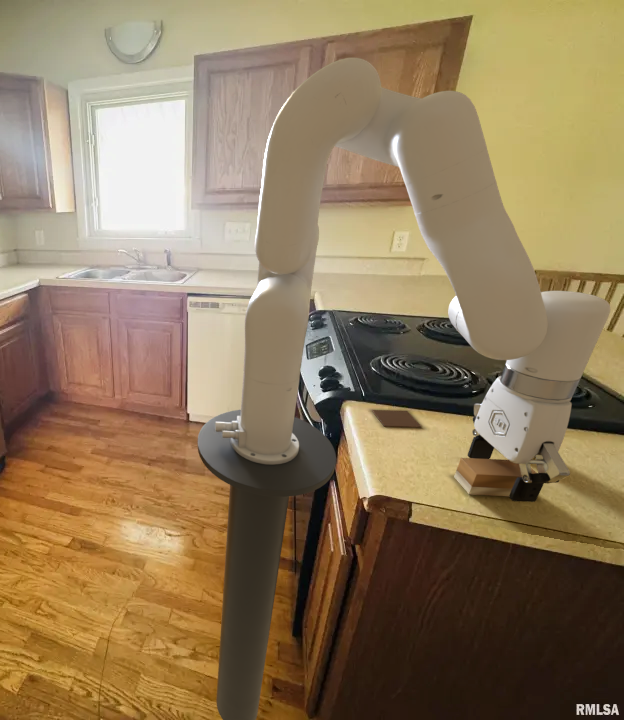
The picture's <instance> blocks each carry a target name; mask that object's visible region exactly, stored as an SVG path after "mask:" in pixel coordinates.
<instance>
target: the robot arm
mask: <svg viewBox="0 0 624 720" xmlns="http://www.w3.org/2000/svg"><path fill="white" fill-rule="evenodd" d="M477 111H478V110H477V109H476V107H475V104H474V103H473V101H472V99H470V98H469V97H468V96H467V94H465V93H462V92H460V91H456V90H441V91H437V92H434V93H431V94H428V95H426V96H424V97H422V98H421V97H417V96H412V95H409V94H405V93H402V92H398V91H395V90H391V89H388V88H386V87H383V86H382V81H381V77H380V74H379V72H378V70H377V68H375V67H374V65H373V64H372V63H371V62H369V61H368V60H366V59H363V58H361V57H345V58H342V59H338V60H335V61H333V62H331V63H329V64H326V65H325V66H323V67H321V68H320V69H318V70H317V71H316V72H314V73H313V74H312V75H310V76H309V77H308V78H306V79H305V80H304V81H303V82H302V83H301V84H300V85H298V86H297V88H295V90H293V91H292V93H291V94H290V96H289V97H287V99H286V100H285V102H284V103H283V105H282V107H281V108H280V110H279V111H278V113H277V115H276V116H275V119H274V121H273V124H272V126H271V129H270V132H269V134H268V138H267V142H266V146H265V152H264V158H263V166H262V176H261V186H260V187H261V188H260V194H259V202H258V213H257V214H258V215H257V224H256V232H255V238H254V252H255V255H256V259H257V261H258V267H257V268H258V269H257V281H256V289H255V290H254V292H253V294H252V295H251V297H250V299H249V302H248V304H247V307H246V311H245V317H244V356H243V357H244V358H243V376H242V388H241V389H242V390H241V401H240V402H241V404H240V410H241V416H237V421H232V423H228V422H215V431H216V432H222V438H231V445H232V447H233V449H234V450H235V451H236V452H237V453H238V454H239V455H241V456H242V457H244V458H246V459H248V460H250V461H253V462H256V463H260V464H268V465H275V464H282V463H286V462H288V461H291V460H292V459H294V458H295V457H296V455H297V454H298V451H299V441H298V439H297V438H296V436H295V435H294V434H293V433H292V430H293V422H294V417H295V414H296V406H297V399H298V392H299V385H300V378H301V369H302V363H303V354H304V349H305V342H306V336H307V333H308V332H307V331H308V326H309V317H310V306H311V293H312V285H313V279H314V271H315V265H316V259H317V258H316V257H317V250H318V245H319V240H320V227H319V217H320V206H321V200H322V193H323V188H324V183H325V176H326V171H327V170H326V168H327V164H328V160H329V158H330V155H331V153H332V151H333V149H334V148H335V147H336V148H338V149H341V150H345V151H348V152H351V153H353V154H356V155H359V156H362V157H365V158H367V159H370V160H374V161H377V162H380V163H383V164H387V165H389V166H390V165H391V166H394V167H397V168H398V169H399V171H400V173H401V177H402V180H403V183H404V184H405V189H406V191H407V194H408V197H409V198H408V199H409V200H410V204H411V206H412V209H413V214H414V216H415V220H416V222H417V227H418V229H419V232H420V235H421V237H422V239H423V241H424V243H425V245H426V247H427V249H428V250H429V252H430V253H431V254H432V256H434V258H435V259H436V260H437V262H438V263H439V265H440V266H441V268H442V269H443V270H444V272H445V274H446V277H447V279H448V280H449V282H450V285H451V287H452V289H453V291H454V294H455V296H454V297H452V299H451V301H450V303H449V305H448V310H447V313H448V314H447V315H448V319H449V321H450V324H451V325H452V326H453V327H454V328H455V330H456V331H457V332H458V333H459V334H460V336H461V337H462V338H463V339H465V341H466V342H467V343H468V345H469V346H470V347H471V348H472V349H473V350H474V351H475V352H477V354H479V355H481V356H483V357H485V358H489V359H492V360H496V361H505V365H504V367H503V371H502V373H501V375H500V376H498V377H497V378H496V379H495V380H494V381H493V382H492V384H491V386H490V387H489V389H488V391H487V392H486V394H485V396H484V398H483V400H482V402H481V403H474V404H473V415H474V417H472V422H473V427H474V428H473V429H472V433H471V434H472V435H473V438H472V440H471V443H470V447H469V450H468V452H467V458H476V459H492V458H491V457H492V455H493V452H494V449H495V450H496V451H498V453H500V454H501V455H502V456H503V457H504V458H506V460H509V461H511V462H513V463H516V464H519V466H520V470H521V475H522V477H517V478H516V481H515V483H514V485H513V488H512V490H511V492H510V495H509V496H508V498H509V500H511V501H512V502H522V503H524V502H525V503H535V502H536V501H537V499H538V497H539V495H540V493H541V491H542V488H543V486H544V485H545V484H547V485H548V484H555V483H559V482H560V481H561V480H564V479H566V478H567V477H569V476H570V475H571V471H570V469H569V468H568V466H567V465H566V462H565V461H564V460H563V459H564V458H562V456H561V454H560V453H559V451H560V449H561V446H562V444H563V441H564V439H565V436H566V432H567V429H568V426H569V422H570V417H571V412H572V405H573V403H572V402H571V400H572V398H573V396H574V394H575V392H576V390H577V387H578V385H579V383H580V381H581V378H582V376H583V374H584V372H585V370H586V368H587V365H588V363H589V361H590V359H591V357H592V354H593V352H594V350H595V347H596V345H597V343H598V341H599V339H600V336H601V334H602V332H603V330H604V327H605V325H606V323H607V321H608V319H609V316H610V313H611V305H610V303H609V302H608V301H607V300H606V299H604V298H602V297H600V296H597V295H594V294H589V293H585V292H580V291H579V292H578V291H569V290H546V291H541V286H540V284H539V281H538V277H537V274H536V271H535V268H534V266H533V264H532V262H531V259H530V257H529V255H528V253H527V250H526V249H525V247H524V245H523V243H522V241H521V239H520V237H519V236H518V233H517V230H516V228H515V226H514V224H513V220H511V218H510V215H509V214H508V213H507V211H506V208H505V206H504V203H503V200H502V197H501V194H500V190H499V186H498V183H497V179H496V176H495V173H494V169H493V165H492V162H491V158H490V154H489V150H488V146H487V143H486V139H485V136H484V132H483V127H482V124H481V121H480V118H479V117H480V116H479V115H478V112H477ZM531 465H536V469H537V473H534V474H532V471H531V468H532V467H531Z"/></svg>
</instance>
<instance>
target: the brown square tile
mask: <svg viewBox="0 0 624 720" xmlns="http://www.w3.org/2000/svg"><path fill="white" fill-rule="evenodd" d="M371 412H372V413H373V415H374V416H375V417H376V418H377V420H378V421H379V422H380V423H381V425H382V426H383V427H386V428H387V427H388V428H422V425H421V424H419V422H418V420H416V419H415V418H414V417H413V415H411V413H410V412H409V411H408V410H394V409H393V410H392V409H391V410H390V409H389V410H388V409H371Z"/></svg>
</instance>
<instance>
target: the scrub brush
mask: <svg viewBox="0 0 624 720" xmlns="http://www.w3.org/2000/svg"><path fill="white" fill-rule="evenodd" d="M455 470H456V471H455V473H454V476H453V478H454V479H455V480H456V481H457V482H458V484H459V485H460V486H461V487H462V488H463V489H464V491H465V492H466V493H467V494H468V495H473V496H474V495H476V496H496V497H509V495H510V492H511V490H512V488H513V485H514V483H515V481H516V478H517V477H522V475H521V470H520V466H519V464H516V463H513V462H511V461H509V460H508V459H502V458H501V459H499V458H498V459H496V458H490V459H476V458H469V457H461V458H460V459H459V462H458V465H457V468H456V469H455ZM531 471H532V474H534V473H538V471H536V470H535V469H533V468H532V467H531Z"/></svg>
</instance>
